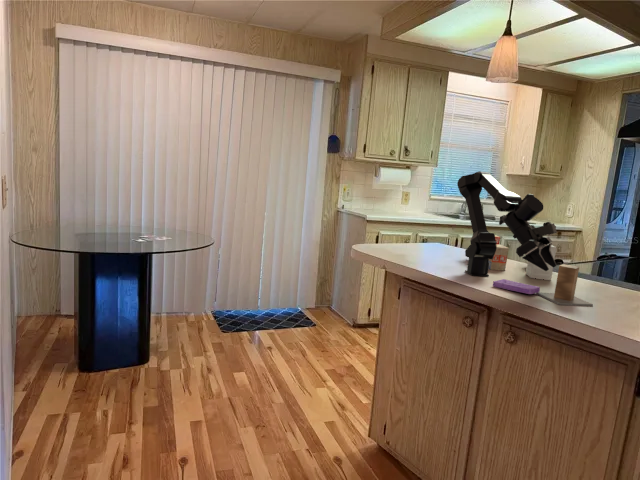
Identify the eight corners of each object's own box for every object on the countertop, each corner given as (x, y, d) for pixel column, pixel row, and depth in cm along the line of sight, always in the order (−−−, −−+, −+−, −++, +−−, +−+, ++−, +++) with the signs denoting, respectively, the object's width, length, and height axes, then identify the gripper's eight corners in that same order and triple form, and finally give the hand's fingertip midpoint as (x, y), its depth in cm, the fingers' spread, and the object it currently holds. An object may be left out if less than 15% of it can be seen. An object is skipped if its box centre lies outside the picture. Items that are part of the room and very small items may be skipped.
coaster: (559, 304, 130) (559, 303, 130) (536, 294, 141) (536, 292, 141) (592, 306, 132) (593, 304, 132) (567, 295, 142) (567, 293, 142)
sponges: (503, 284, 151) (503, 278, 151) (540, 292, 141) (540, 286, 141) (492, 286, 146) (492, 280, 146) (529, 294, 137) (530, 288, 136)
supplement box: (551, 280, 163) (557, 247, 161) (530, 278, 164) (535, 244, 162) (545, 276, 170) (551, 244, 168) (525, 273, 172) (530, 241, 170)
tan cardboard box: (505, 271, 175) (510, 240, 173) (490, 269, 175) (494, 239, 173) (484, 259, 196) (488, 232, 194) (470, 258, 196) (474, 231, 194)
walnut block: (553, 297, 136) (559, 265, 134) (557, 295, 139) (563, 264, 138) (570, 301, 133) (575, 268, 131) (573, 298, 136) (579, 267, 135)
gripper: (533, 214, 132) (568, 257, 127) (550, 212, 146) (581, 251, 141) (502, 235, 138) (534, 277, 133) (521, 231, 152) (550, 269, 147)
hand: (551, 268), depth 138 cm, fingers open, 9 cm apart
